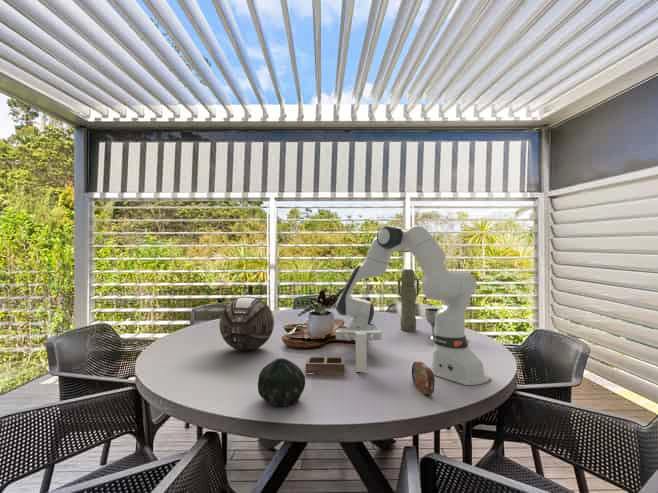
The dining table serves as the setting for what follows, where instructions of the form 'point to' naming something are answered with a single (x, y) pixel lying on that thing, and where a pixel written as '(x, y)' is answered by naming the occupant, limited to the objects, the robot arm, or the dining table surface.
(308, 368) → the walnut rack
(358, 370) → the cream rectangular block
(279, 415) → the dining table surface
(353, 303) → the robot arm
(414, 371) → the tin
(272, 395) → the squash
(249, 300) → the sphere
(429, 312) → the wine glass
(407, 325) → the stone pillar
